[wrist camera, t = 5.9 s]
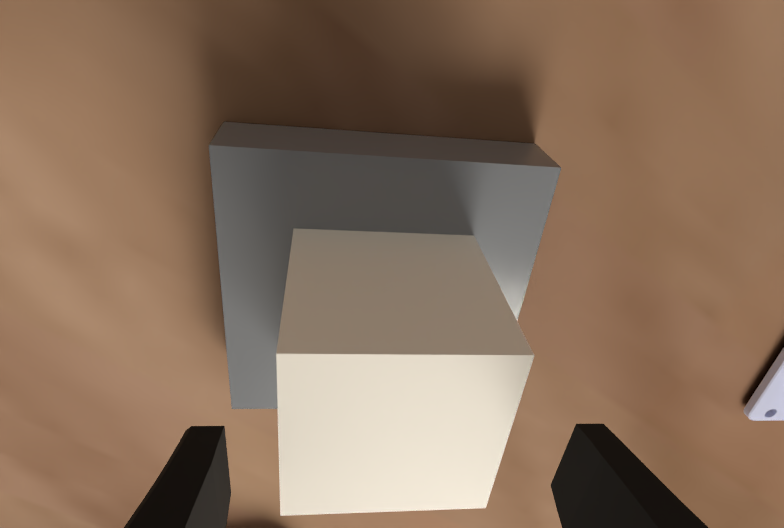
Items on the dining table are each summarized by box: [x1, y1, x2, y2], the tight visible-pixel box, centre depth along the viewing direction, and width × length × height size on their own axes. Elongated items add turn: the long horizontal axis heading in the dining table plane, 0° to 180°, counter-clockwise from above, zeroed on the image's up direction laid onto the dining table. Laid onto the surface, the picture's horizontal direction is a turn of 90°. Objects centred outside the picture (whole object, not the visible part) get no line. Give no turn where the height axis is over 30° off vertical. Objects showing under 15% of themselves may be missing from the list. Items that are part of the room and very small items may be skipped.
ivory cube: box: [276, 228, 534, 516], centre depth 13 cm, size 5×5×5 cm
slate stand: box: [209, 122, 561, 409], centre depth 16 cm, size 9×9×2 cm
